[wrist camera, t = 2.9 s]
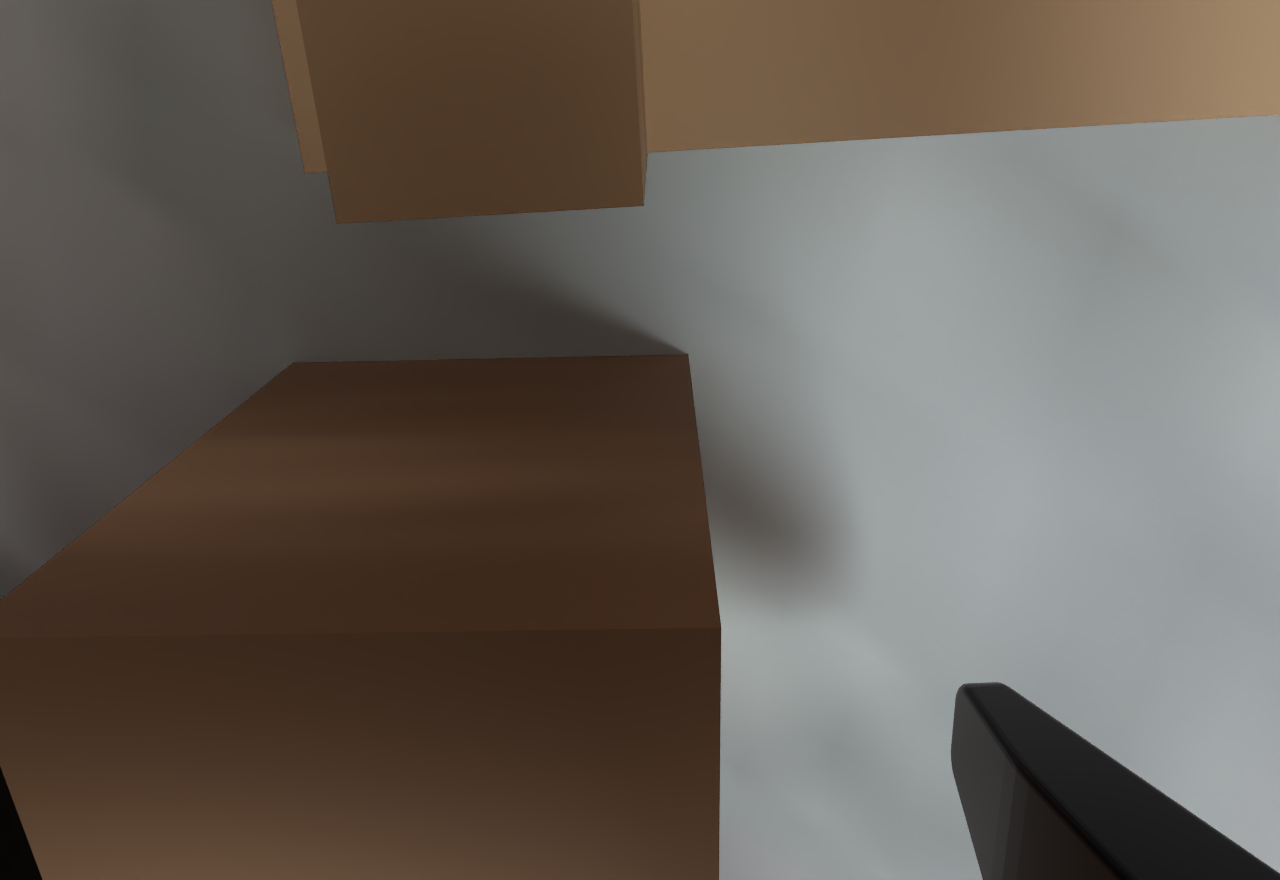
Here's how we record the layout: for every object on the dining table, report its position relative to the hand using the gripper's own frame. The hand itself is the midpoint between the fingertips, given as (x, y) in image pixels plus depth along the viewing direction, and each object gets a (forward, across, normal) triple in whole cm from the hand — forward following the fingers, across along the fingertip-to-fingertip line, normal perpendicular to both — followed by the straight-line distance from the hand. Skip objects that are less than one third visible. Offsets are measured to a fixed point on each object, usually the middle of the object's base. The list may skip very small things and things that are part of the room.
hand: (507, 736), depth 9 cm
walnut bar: (+2, 0, +2) cm, 3 cm away
